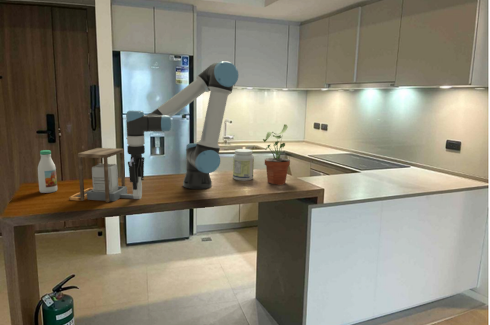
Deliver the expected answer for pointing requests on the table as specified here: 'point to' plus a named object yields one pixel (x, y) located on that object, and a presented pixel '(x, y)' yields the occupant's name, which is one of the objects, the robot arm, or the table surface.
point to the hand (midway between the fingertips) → (137, 195)
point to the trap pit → (77, 196)
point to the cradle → (114, 194)
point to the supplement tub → (243, 164)
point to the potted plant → (277, 162)
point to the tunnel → (100, 154)
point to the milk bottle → (47, 173)
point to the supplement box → (100, 181)
